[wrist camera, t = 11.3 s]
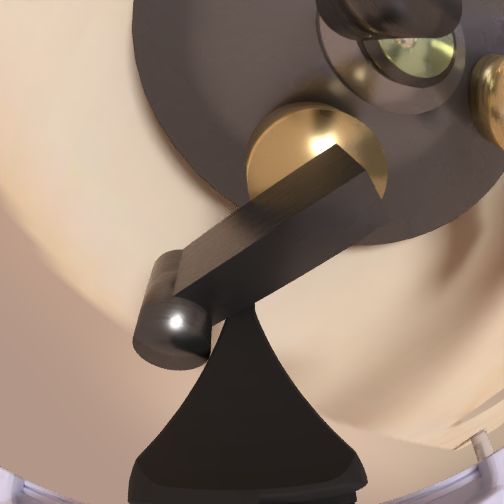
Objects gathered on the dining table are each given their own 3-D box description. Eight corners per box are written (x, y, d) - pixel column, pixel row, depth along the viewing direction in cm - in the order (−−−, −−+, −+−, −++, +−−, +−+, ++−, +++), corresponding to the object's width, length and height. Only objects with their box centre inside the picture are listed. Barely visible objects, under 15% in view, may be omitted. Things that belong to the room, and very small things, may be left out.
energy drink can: (478, 434, 63) (489, 468, 51) (467, 439, 63) (478, 475, 50) (488, 426, 60) (500, 461, 47) (477, 432, 59) (489, 469, 47)
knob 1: (324, 77, 8) (404, 97, 4) (381, 175, 11) (458, 253, 6) (133, 222, 11) (86, 321, 7) (205, 287, 13) (198, 390, 9)
